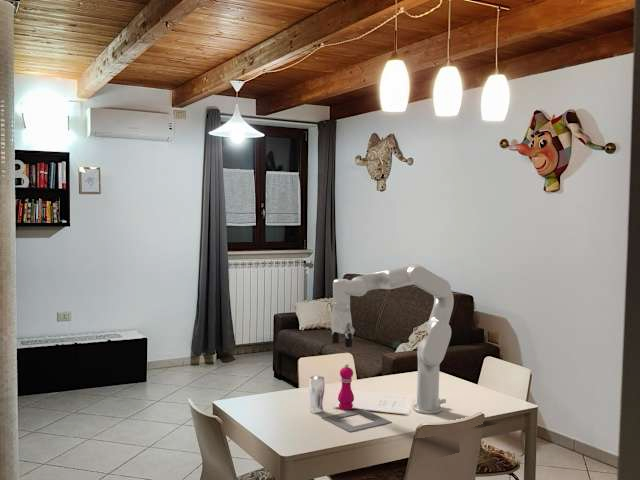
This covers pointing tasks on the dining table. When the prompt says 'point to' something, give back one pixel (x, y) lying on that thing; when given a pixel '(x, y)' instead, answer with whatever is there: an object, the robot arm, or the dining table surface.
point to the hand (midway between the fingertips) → (342, 345)
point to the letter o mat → (336, 421)
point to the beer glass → (316, 393)
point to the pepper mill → (346, 389)
